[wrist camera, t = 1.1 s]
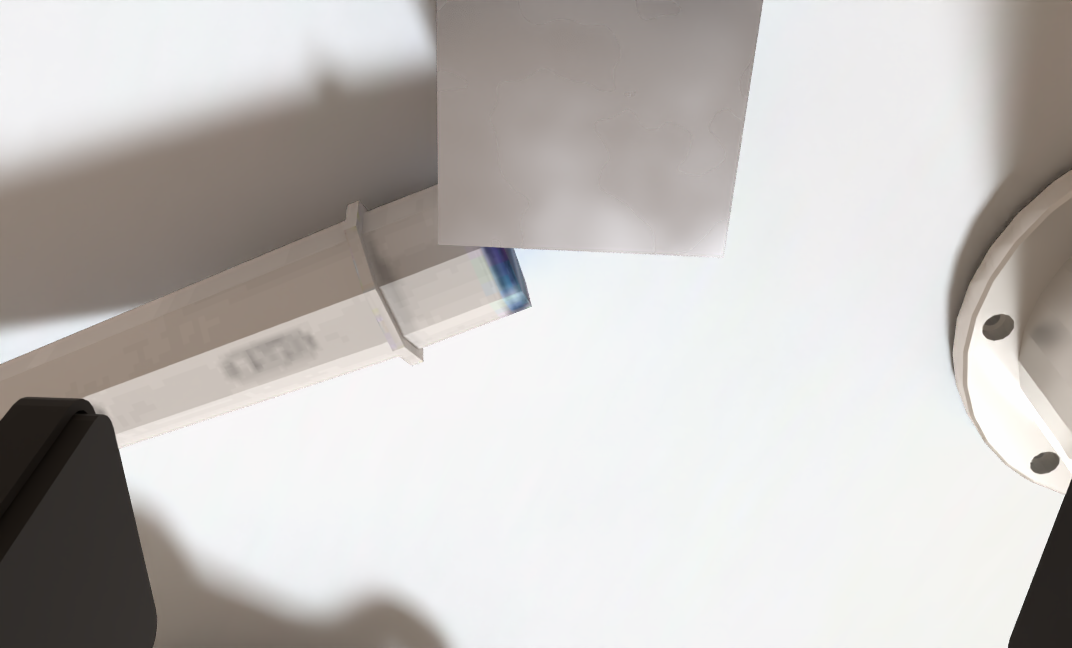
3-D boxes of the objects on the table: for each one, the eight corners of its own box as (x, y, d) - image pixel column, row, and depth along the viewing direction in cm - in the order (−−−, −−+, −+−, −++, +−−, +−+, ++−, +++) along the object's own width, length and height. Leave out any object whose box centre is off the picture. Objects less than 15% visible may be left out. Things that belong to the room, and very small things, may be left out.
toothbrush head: (547, 354, 26) (-289, 669, 28) (521, 253, 32) (-169, 518, 34) (474, 179, 24) (-439, 535, 26) (460, 103, 30) (-281, 397, 31)
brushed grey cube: (715, -99, 24) (769, -41, 18) (686, 140, 27) (723, 257, 21) (465, -111, 24) (436, -57, 18) (464, 129, 27) (438, 244, 21)
